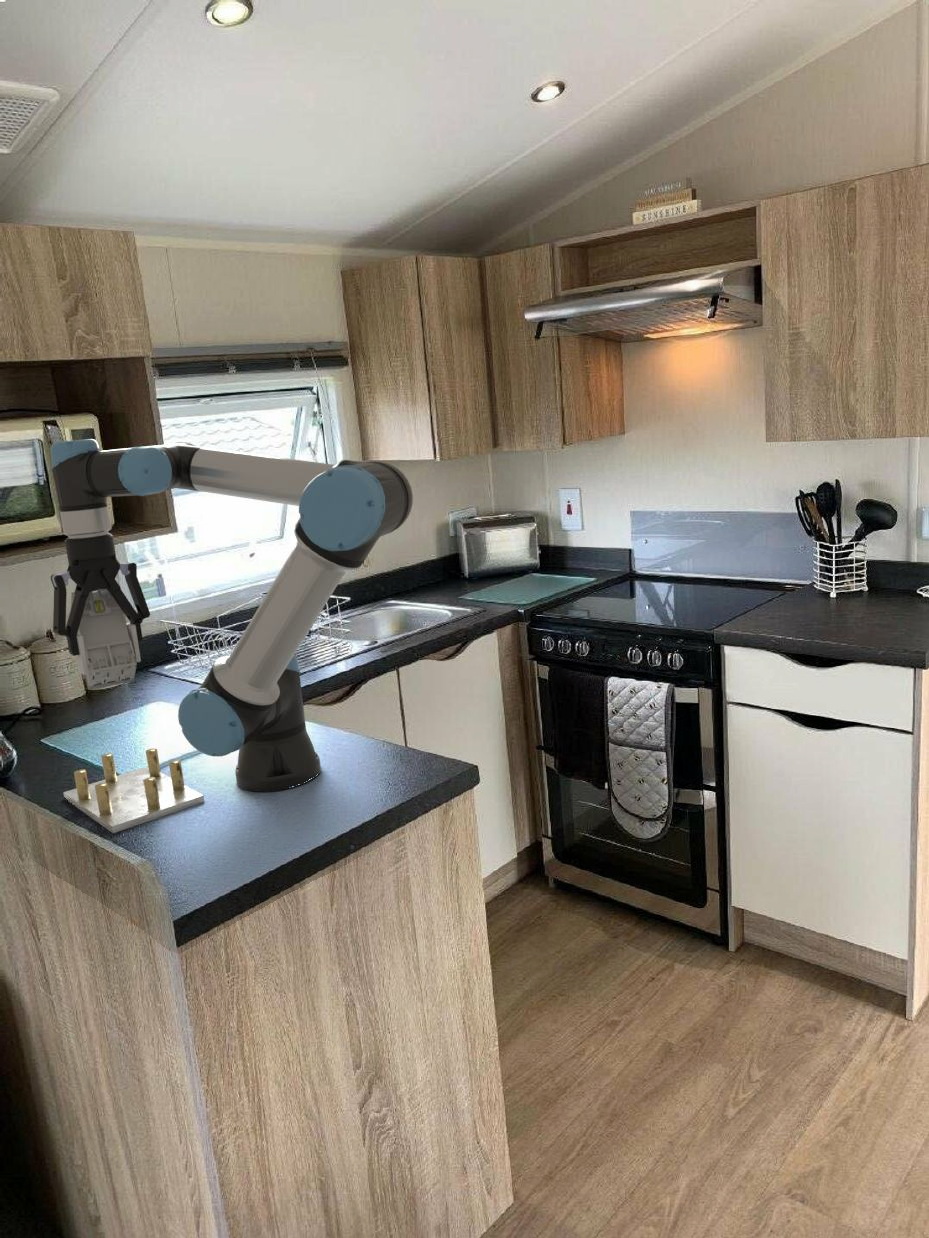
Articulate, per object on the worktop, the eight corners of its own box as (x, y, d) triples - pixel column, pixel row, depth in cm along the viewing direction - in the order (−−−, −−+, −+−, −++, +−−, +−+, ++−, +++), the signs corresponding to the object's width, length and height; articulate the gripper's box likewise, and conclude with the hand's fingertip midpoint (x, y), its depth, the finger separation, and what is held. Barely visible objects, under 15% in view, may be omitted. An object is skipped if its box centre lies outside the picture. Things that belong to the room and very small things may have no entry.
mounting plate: (204, 801, 166) (199, 767, 165) (113, 833, 156) (106, 797, 155) (149, 771, 183) (144, 740, 182) (64, 798, 173) (58, 765, 172)
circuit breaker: (130, 693, 175) (112, 619, 179) (136, 664, 163) (117, 585, 167) (87, 702, 171) (69, 626, 176) (90, 672, 159) (71, 592, 164)
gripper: (140, 525, 169) (160, 650, 174) (14, 543, 156) (39, 678, 161) (158, 526, 164) (177, 655, 168) (29, 545, 150) (54, 685, 155)
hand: (110, 666), depth 165 cm, fingers closed on circuit breaker, 8 cm apart
